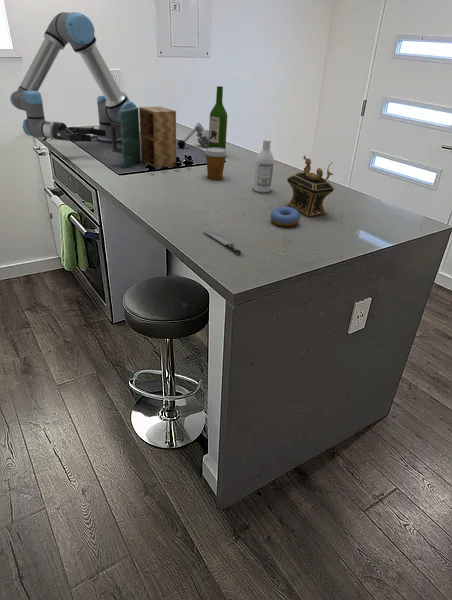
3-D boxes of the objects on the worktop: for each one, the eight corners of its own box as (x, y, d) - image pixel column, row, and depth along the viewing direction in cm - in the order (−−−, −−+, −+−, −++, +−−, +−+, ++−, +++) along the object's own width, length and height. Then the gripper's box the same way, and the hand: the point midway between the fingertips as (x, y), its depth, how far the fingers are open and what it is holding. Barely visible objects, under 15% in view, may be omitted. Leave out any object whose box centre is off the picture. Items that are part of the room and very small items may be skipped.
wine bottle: (205, 155, 224) (207, 86, 207) (212, 152, 232) (215, 85, 215) (221, 158, 222) (224, 88, 205) (227, 154, 229) (231, 86, 212)
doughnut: (279, 229, 143) (280, 216, 140) (264, 219, 150) (266, 206, 148) (304, 226, 146) (306, 213, 144) (289, 216, 154) (291, 204, 152)
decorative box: (282, 203, 165) (289, 150, 155) (302, 201, 169) (310, 149, 159) (314, 222, 151) (324, 164, 140) (336, 218, 155) (347, 162, 144)
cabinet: (155, 168, 198) (153, 112, 185) (141, 161, 207) (138, 107, 195) (176, 165, 204) (175, 111, 191) (161, 159, 213) (160, 106, 201)
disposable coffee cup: (229, 176, 193) (230, 149, 186) (219, 182, 185) (221, 153, 179) (210, 173, 196) (211, 146, 190) (200, 178, 188) (201, 149, 182)
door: (111, 165, 197) (106, 109, 185) (127, 159, 209) (124, 106, 196) (125, 167, 195) (121, 111, 183) (140, 161, 207) (138, 107, 194)
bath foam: (273, 192, 177) (279, 141, 167) (258, 193, 175) (263, 142, 164) (265, 187, 183) (270, 137, 172) (250, 188, 180) (255, 138, 169)
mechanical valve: (218, 142, 240) (202, 120, 230) (197, 165, 239) (180, 145, 229) (209, 140, 248) (194, 119, 238) (189, 162, 247) (172, 142, 237)
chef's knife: (211, 231, 138) (203, 232, 137) (211, 228, 138) (203, 229, 136) (247, 253, 125) (238, 255, 124) (247, 250, 125) (239, 251, 123)
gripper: (72, 134, 211) (111, 139, 207) (40, 144, 190) (84, 149, 186) (70, 118, 207) (110, 122, 203) (38, 126, 186) (82, 131, 182)
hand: (98, 135), depth 194 cm, fingers open, 13 cm apart
